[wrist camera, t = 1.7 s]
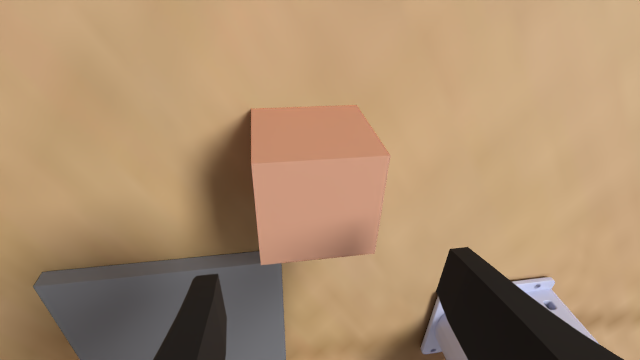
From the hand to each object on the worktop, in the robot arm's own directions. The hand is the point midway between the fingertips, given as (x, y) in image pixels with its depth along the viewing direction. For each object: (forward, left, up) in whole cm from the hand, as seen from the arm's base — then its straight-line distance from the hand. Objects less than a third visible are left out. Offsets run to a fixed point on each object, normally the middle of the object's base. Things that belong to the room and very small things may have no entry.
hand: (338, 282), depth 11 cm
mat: (+8, +13, -8) cm, 17 cm away
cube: (0, 0, -8) cm, 8 cm away
